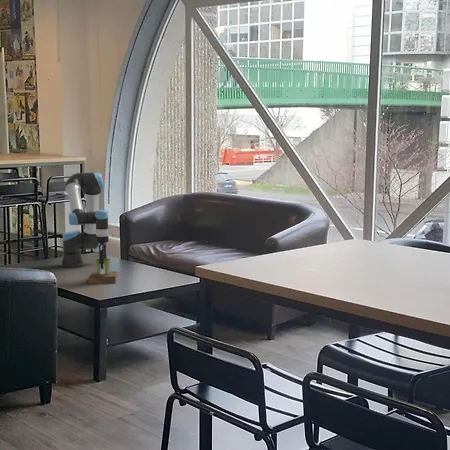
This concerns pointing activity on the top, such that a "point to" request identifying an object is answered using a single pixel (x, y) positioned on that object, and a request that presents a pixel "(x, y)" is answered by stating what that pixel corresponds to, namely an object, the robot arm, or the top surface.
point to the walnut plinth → (103, 278)
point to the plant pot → (106, 263)
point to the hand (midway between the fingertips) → (103, 272)
